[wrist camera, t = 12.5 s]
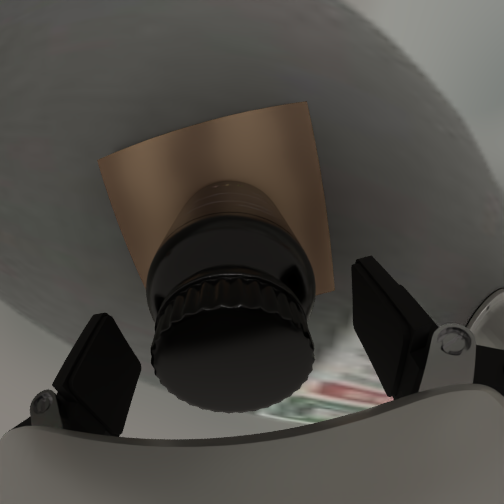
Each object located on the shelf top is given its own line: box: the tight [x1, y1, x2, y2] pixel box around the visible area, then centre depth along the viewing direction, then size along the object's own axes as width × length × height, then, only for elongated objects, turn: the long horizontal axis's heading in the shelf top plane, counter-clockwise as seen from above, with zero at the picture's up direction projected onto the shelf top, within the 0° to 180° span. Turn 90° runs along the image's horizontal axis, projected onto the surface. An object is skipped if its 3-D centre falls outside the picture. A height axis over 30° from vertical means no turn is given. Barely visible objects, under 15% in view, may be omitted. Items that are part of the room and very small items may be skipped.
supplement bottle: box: [146, 181, 316, 413], centre depth 13 cm, size 7×7×12 cm
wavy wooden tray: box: [97, 101, 335, 296], centre depth 19 cm, size 14×14×3 cm
